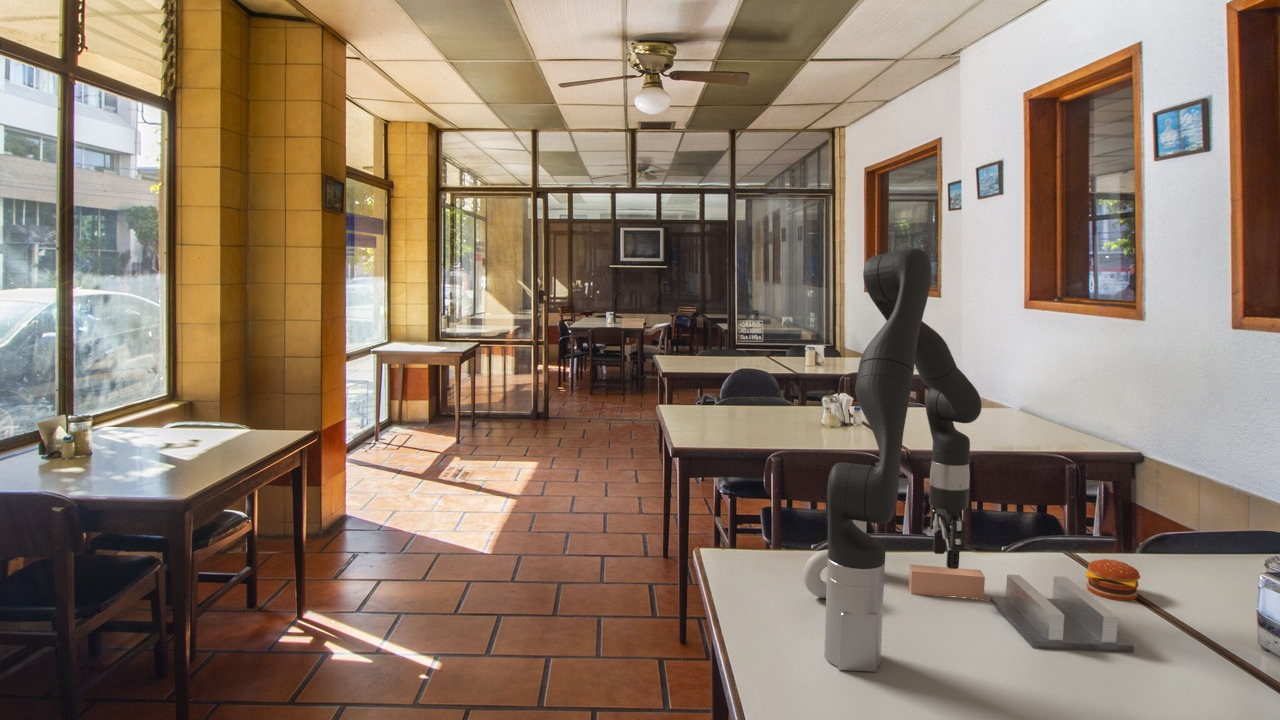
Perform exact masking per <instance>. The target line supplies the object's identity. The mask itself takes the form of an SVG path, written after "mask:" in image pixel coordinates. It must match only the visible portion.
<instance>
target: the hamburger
mask: <svg viewBox="0 0 1280 720" xmlns="http://www.w3.org/2000/svg"><path fill="white" fill-rule="evenodd" d="M1086 570H1087V571H1086V574H1085V578H1087V579H1088V581H1087V583H1086V588H1087V590H1088V591H1089V592H1090V593H1091V594H1094V595H1095V596H1098V597H1101V598H1104V599H1107V600H1113V601H1114V600H1115V601H1119V602H1120V601H1121V602H1122V601H1126V602H1127V601H1133V600H1135V599H1137V598H1138V597H1139V596H1138V594H1139V593H1138V591H1137V590H1138V587H1139V582H1138V580H1140V579H1141V575H1140V572H1139V570H1138V569H1137V568H1136V567H1133V566H1132V565H1129V564H1128V563H1126V562H1123V561H1121V560H1120V561H1119V560H1116V559H1107V558H1106V559H1105V558H1104V559H1097V560H1092V561H1090V562H1089V563H1088V567H1087V569H1086Z"/></svg>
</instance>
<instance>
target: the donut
mask: <svg viewBox="0 0 1280 720" xmlns="http://www.w3.org/2000/svg"><path fill="white" fill-rule="evenodd" d="M827 565H828V549H823V550H819V551H817V552H815V553H814V554H812V555H811V556H810V557H809V559H807V561H806V564H805V565H804V569H803V573H802V574H803V582H804V585H805V587H806V588H807V590H808V591H809V592H810V593H811V594H812V595H814V596H815V597H818V598H820V599H826V590H827V580H826V581H825V580H822V579H821V573H822V571H823V570H824V569H826V568H827Z"/></svg>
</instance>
